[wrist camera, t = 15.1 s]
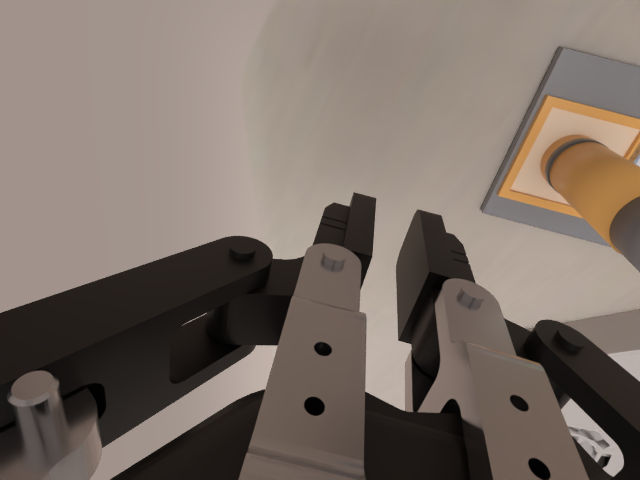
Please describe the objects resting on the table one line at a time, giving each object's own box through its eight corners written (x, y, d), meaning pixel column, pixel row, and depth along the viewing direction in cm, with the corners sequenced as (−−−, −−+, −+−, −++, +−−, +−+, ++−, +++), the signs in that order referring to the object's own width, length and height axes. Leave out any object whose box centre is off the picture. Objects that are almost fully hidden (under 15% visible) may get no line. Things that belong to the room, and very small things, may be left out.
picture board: (558, 47, 25) (566, 48, 24) (787, 105, 25) (806, 109, 24) (480, 208, 31) (484, 215, 30) (663, 257, 31) (673, 266, 30)
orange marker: (557, 127, 27) (677, 205, 16) (612, 141, 27) (774, 229, 16) (529, 179, 29) (619, 280, 18) (581, 192, 29) (704, 303, 18)
